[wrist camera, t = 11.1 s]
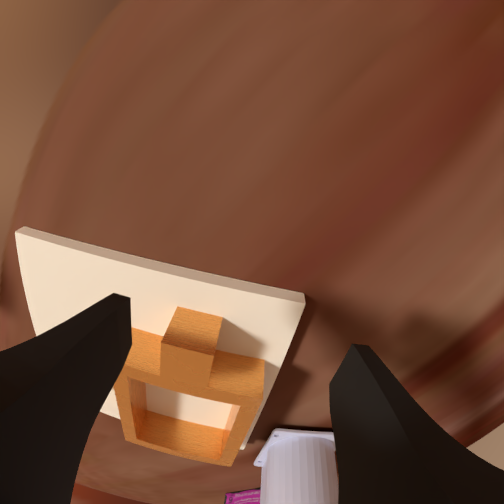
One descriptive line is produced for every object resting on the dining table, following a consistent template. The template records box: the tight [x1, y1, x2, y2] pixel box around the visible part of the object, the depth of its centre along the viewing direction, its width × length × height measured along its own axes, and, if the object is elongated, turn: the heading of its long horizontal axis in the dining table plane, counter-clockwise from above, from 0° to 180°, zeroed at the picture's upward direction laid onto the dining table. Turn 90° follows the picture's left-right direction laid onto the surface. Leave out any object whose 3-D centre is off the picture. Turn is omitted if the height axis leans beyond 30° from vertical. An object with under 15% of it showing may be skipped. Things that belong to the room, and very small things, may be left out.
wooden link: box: [114, 306, 265, 467], centre depth 20 cm, size 15×10×4 cm, turn 167°
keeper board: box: [15, 226, 306, 450], centre depth 19 cm, size 20×22×7 cm
